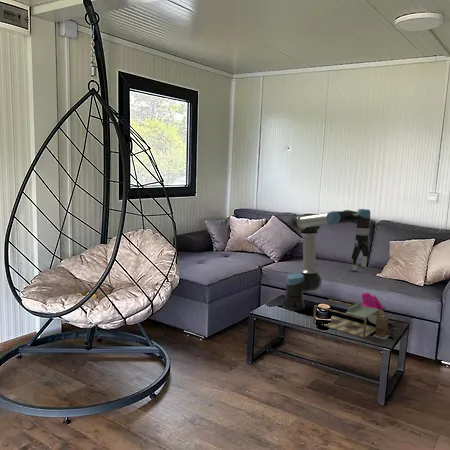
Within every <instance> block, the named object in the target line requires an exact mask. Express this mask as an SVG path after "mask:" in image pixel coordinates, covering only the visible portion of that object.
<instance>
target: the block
mask: <svg viewBox="0 0 450 450" xmlns="http://www.w3.org/2000/svg"><path fill="white" fill-rule="evenodd" d="M389 320H390V319H389V318H388V317H385V316H384V317H382V316H380V317H378V318H377V325H376V324H375V328H376V331H375V334H376V335H377V336H380V337H383V338H384V337H385V336H387V335H388V329H389Z"/></svg>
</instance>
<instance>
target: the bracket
mask: <svg viewBox="0 0 450 450" xmlns="http://www.w3.org/2000/svg"><path fill="white" fill-rule="evenodd" d="M361 299H362V303H361V305H362V306H366V307H370V308H374V309H375V308H377V309H380V310H384V309H385V307H384V306H383V305H382V303H381V302H380V300H379V299H378V297H377V296H376V295H373V294H370V293H369V292H367V291H366V292H363V293H361Z"/></svg>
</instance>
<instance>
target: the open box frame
mask: <svg viewBox="0 0 450 450" xmlns="http://www.w3.org/2000/svg"><path fill="white" fill-rule="evenodd" d="M331 302H335V303H339V304H342V305H345V306H349V307H351V306H353V305H354V304H352V303H347V302H342V301H338V300H336V299H335V300H334V299H331V298H328V302H327V303H328V304H327V306H328V305H329V306H330V307H331ZM317 308H318V309H322V310H326V311H328V310H329V311H330V312H334V313H338V314H341V315H344V316H349V317H352V318H356V319H359V320H363V323H360V322H357V321H353V320H350V319H346V318H342V317H338V316H336V315H335V316H334V315H332V316H331V322H330V323H328V324H324V326H323V327H326V328H330V329H333V330H336V331H340V332H343V333H346V334H350V335H354V336H356V337H360V338H364V339H366V338H367V337H368V336H370V335H372V334H373V333H374V332H376V325H377V320H376V324H375V326H372V325H367V323H368V322H367V321H368V318H365V319H364V318H361V317H357V316H353V315H349V314H346V312H342V311H338V310H334V309H331V308H330V309H328V307H322V306H319V305H316V304H315V305H313V316H312V317H313V320H312V323H313V324H315V323H316V317H317V315H316V314H317ZM378 317H379V311H377V318H378ZM322 325H323V324H322ZM322 325H321V326H322Z"/></svg>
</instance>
